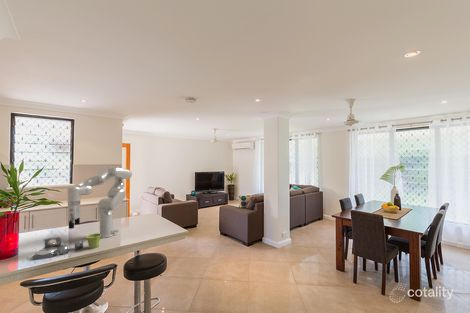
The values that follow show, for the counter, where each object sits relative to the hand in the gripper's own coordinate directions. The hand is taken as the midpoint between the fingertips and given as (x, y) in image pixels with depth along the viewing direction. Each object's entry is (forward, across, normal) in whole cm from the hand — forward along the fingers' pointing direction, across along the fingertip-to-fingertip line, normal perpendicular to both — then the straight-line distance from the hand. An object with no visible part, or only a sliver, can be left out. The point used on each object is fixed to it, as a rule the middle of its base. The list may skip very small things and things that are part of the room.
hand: (74, 226), depth 158 cm
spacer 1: (+16, -9, +3) cm, 19 cm away
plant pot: (+16, -3, -14) cm, 21 cm away
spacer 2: (+16, -2, -4) cm, 16 cm away
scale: (+16, -5, +13) cm, 22 cm away
